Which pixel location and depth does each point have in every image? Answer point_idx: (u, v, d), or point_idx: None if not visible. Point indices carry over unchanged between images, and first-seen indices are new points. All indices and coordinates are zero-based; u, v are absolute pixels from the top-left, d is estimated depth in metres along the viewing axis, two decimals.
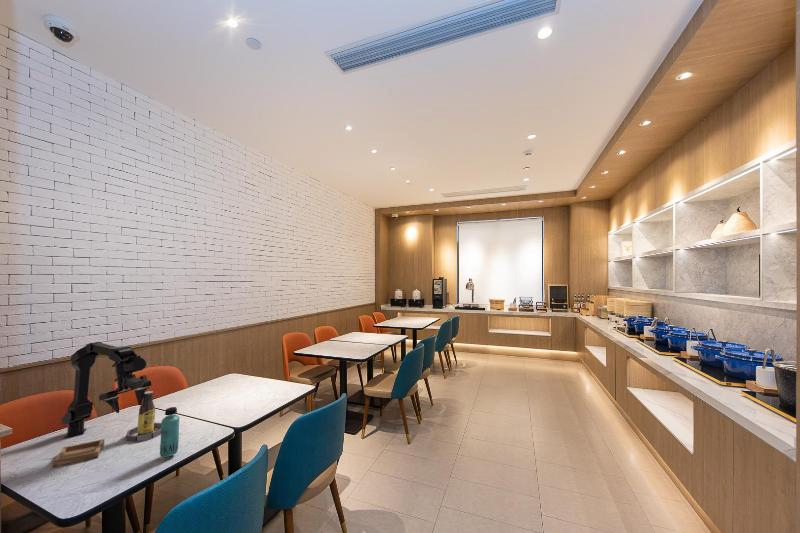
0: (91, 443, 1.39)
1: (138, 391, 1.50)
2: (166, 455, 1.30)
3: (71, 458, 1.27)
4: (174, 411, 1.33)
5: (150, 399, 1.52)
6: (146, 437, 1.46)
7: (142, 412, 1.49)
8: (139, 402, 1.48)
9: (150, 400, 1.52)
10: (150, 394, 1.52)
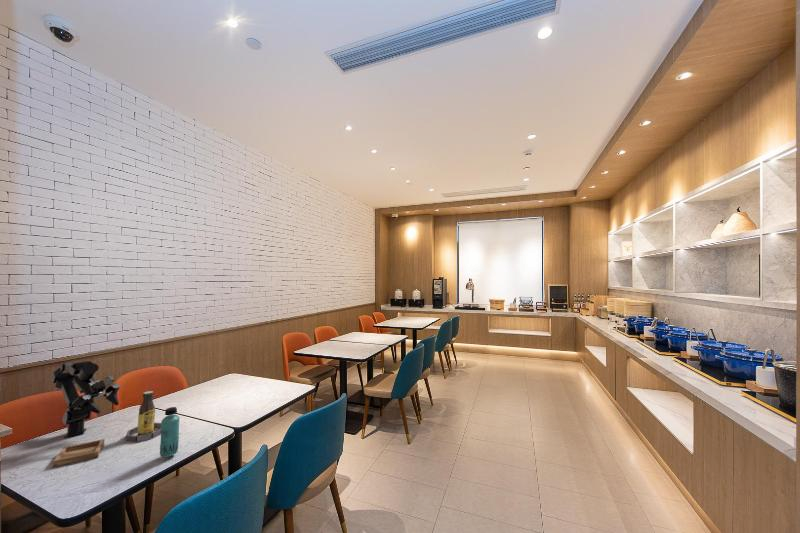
0: (91, 443, 1.39)
1: (109, 395, 1.54)
2: (166, 455, 1.30)
3: (71, 458, 1.27)
4: (174, 411, 1.33)
5: (150, 399, 1.52)
6: (146, 437, 1.46)
7: (142, 412, 1.49)
8: (116, 402, 1.54)
9: (150, 400, 1.52)
10: (150, 394, 1.52)
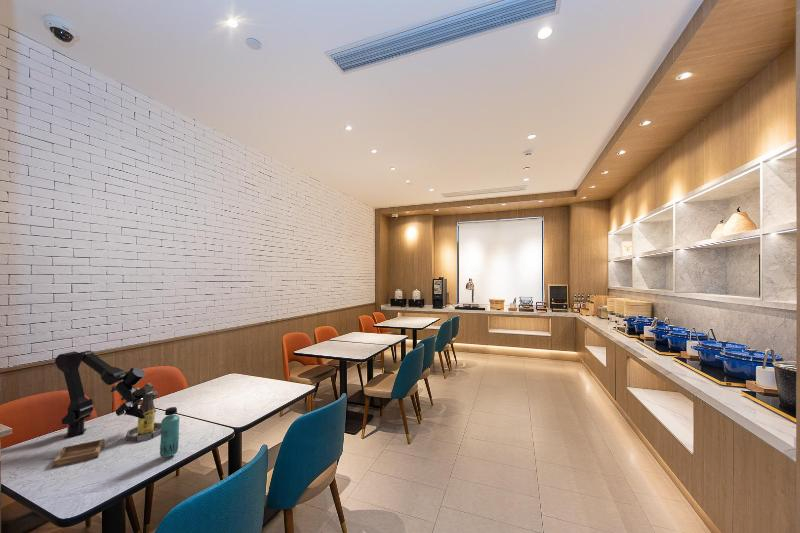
0: (91, 443, 1.39)
1: None
2: (166, 455, 1.30)
3: (71, 458, 1.27)
4: (174, 411, 1.33)
5: (150, 399, 1.52)
6: (146, 437, 1.46)
7: (142, 412, 1.49)
8: None
9: (150, 400, 1.52)
10: (150, 394, 1.52)
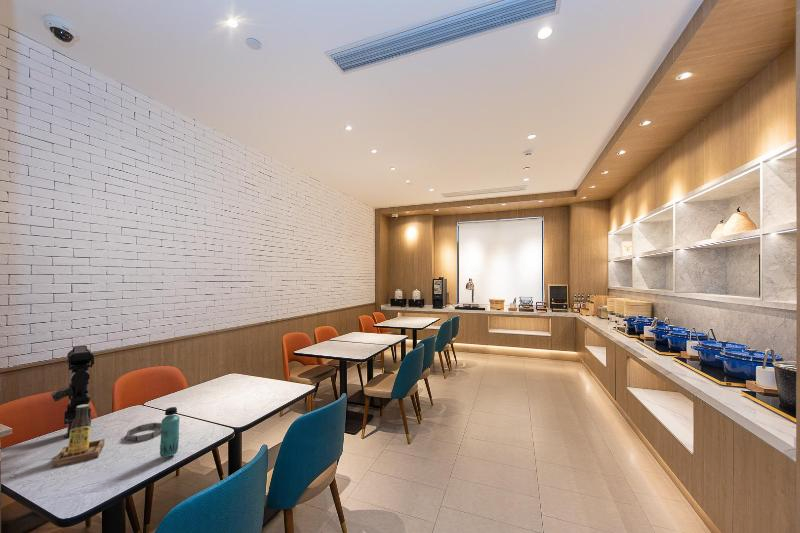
0: (91, 443, 1.39)
1: None
2: (166, 455, 1.30)
3: (71, 458, 1.27)
4: (174, 411, 1.33)
5: (80, 414, 1.33)
6: (146, 437, 1.46)
7: None
8: None
9: (80, 416, 1.33)
10: (80, 409, 1.32)
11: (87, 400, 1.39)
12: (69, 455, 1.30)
